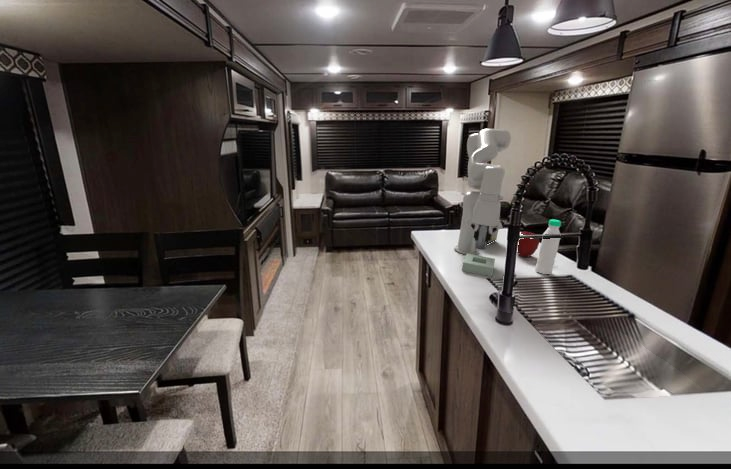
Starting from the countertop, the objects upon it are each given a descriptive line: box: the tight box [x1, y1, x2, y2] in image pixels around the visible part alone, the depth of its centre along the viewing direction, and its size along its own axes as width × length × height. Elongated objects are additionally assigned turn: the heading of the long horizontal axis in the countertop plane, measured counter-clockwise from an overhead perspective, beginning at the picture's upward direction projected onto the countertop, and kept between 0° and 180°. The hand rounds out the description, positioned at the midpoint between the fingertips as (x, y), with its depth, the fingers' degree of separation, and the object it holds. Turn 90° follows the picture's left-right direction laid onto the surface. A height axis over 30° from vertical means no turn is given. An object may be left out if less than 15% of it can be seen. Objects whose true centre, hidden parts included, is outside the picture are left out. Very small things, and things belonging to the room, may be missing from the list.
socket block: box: [461, 254, 496, 277], centre depth 156 cm, size 13×13×4 cm
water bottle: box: [534, 218, 562, 275], centre depth 153 cm, size 7×7×25 cm
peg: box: [475, 225, 489, 251], centre depth 140 cm, size 4×4×11 cm
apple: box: [517, 230, 540, 258], centre depth 175 cm, size 12×12×13 cm
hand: (481, 240), depth 141 cm, fingers closed on peg, 4 cm apart
